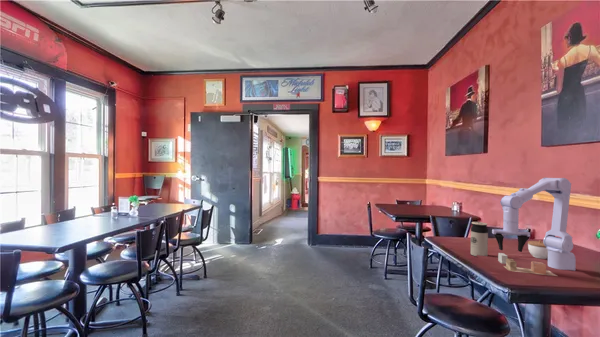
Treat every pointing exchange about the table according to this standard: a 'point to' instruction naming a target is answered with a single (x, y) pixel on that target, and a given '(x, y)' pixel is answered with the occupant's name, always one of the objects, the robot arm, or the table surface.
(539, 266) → the terracotta cube
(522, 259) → the table surface
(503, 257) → the white block
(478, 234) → the travel mug
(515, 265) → the birch strip
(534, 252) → the lidded jar
